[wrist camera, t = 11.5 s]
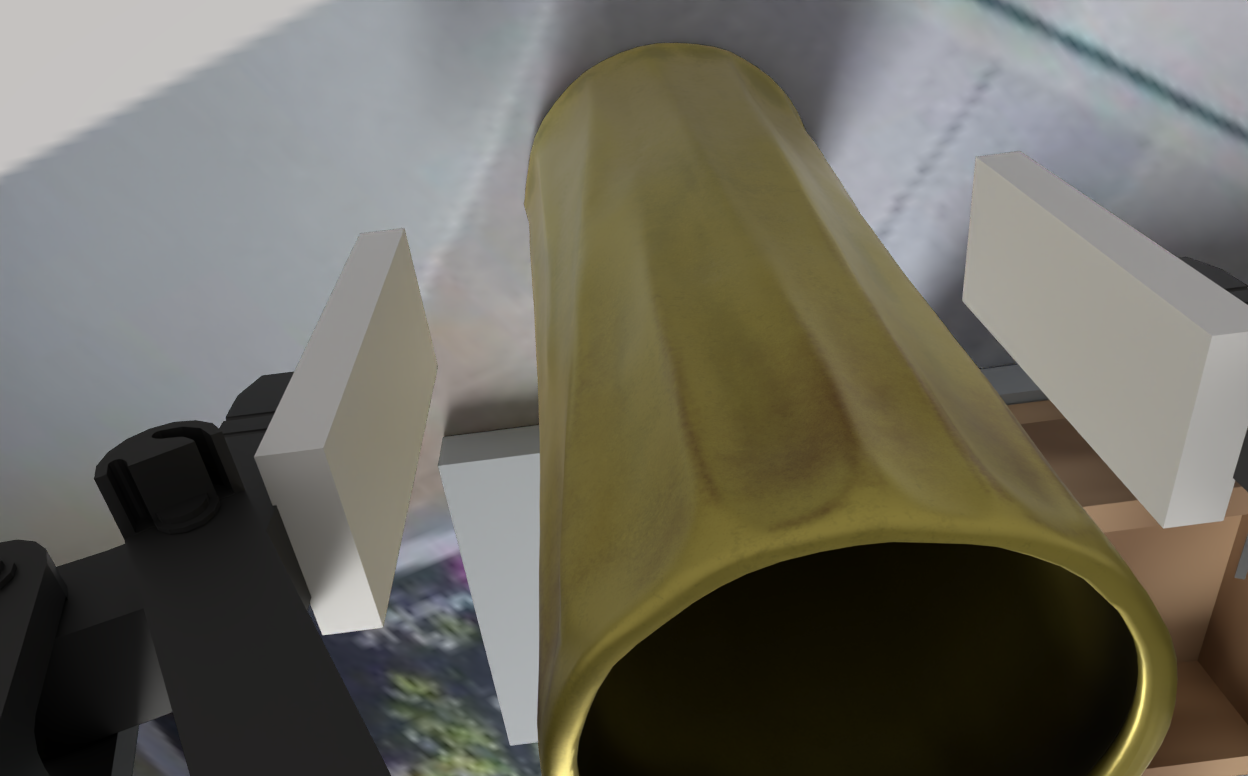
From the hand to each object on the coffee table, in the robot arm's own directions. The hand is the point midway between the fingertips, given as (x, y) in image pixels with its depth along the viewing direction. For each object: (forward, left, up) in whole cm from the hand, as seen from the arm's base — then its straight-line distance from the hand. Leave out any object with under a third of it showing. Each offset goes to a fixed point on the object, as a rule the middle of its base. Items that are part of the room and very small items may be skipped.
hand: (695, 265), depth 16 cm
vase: (0, 0, -4) cm, 4 cm away
